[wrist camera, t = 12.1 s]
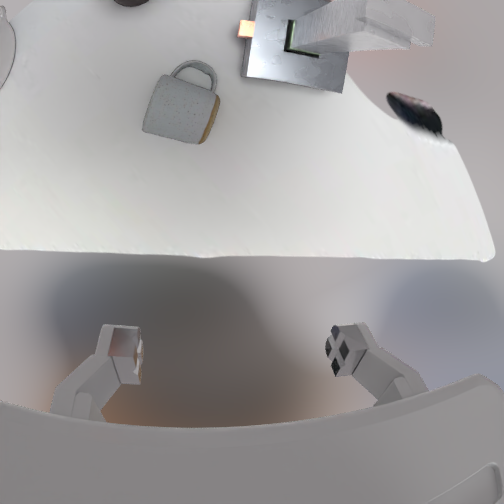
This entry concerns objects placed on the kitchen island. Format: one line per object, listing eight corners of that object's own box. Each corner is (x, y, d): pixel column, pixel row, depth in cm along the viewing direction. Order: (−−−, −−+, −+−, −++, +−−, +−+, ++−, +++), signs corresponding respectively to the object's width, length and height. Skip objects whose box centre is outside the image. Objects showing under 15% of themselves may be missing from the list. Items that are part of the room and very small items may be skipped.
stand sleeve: (229, 75, 35) (233, 74, 30) (240, -4, 29) (247, -16, 24) (324, 90, 38) (342, 93, 33) (336, 16, 32) (355, 10, 27)
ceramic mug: (202, 141, 40) (203, 154, 34) (147, 126, 37) (136, 135, 31) (229, 71, 35) (236, 69, 29) (172, 54, 33) (165, 48, 26)
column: (278, 49, 30) (363, 25, 13) (282, 22, 28) (369, -24, 11) (318, 57, 31) (431, 54, 14) (322, 31, 29) (436, 9, 12)
